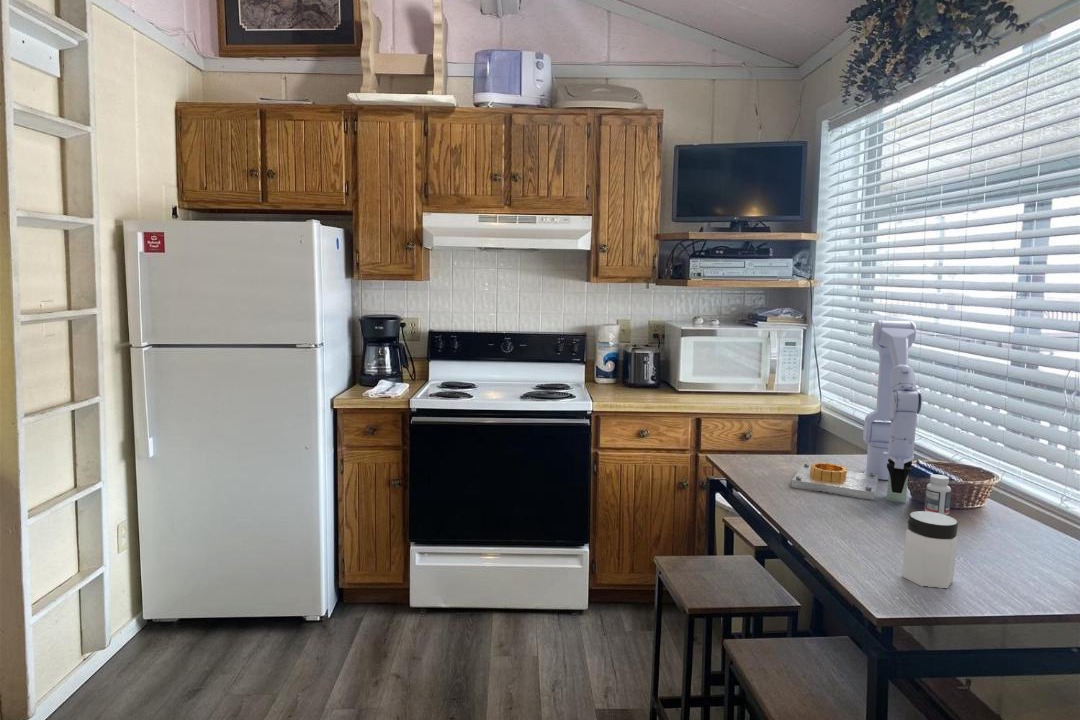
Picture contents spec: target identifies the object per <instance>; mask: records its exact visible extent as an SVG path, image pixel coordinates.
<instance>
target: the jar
mask: <svg viewBox="0 0 1080 720" xmlns="http://www.w3.org/2000/svg"><path fill="white" fill-rule="evenodd" d="M958 526H959V522H958V520H957V519H955V518H954V517H952V516H950V515H944V514H940V513H935V512H928V511H925V510H918V511H912V512H910V513H909V515H908V518H907V529H906V530H905V538H904V549H903V550H904V551H903V560H902V571H901V577H902V578H904V579H906V580H908V581H910V582H912V583H914V584H916V585H918V586H919V587H923V586H928V587H927V588H933V587H938V588H937V589H943V588H947V589H948V588H949V587H950V586H951V584H952V583H953V581H954V575H955V566H956V564H955V563H956V555H957V547H958V538H959V537H958V536H959V535H958ZM949 585H950V586H949Z"/></svg>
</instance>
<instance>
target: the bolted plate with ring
mask: <svg viewBox="0 0 1080 720" xmlns="http://www.w3.org/2000/svg"><path fill="white" fill-rule="evenodd" d="M878 477H879V475H875V473H870V474H866V473H864V472H859V471H858V472H857V471H852V470H848V468H847V467H845V466H843V465H840V464H835V463H829V462H815V463H811V465H810V464H809V463H804V464H801V465H800V467H799V469H798V470H797V471H796V473H795V475H793V477H792V479H791V488H793V487H794V488H795V489H800V490H801V489H802V490H806V489H807V491H813V490H814V491H813V492H819V491H822V492H821V493H825V492H829V493H828V494H832V493H834V494H833V495H838V494H839V495H838V496H846V497H852V498H857V497H858V498H859V499H866V500H871V501H875V497H876V492H877V488H878V484H879V479H878ZM794 488H793V489H794Z"/></svg>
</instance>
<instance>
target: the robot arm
mask: <svg viewBox="0 0 1080 720" xmlns="http://www.w3.org/2000/svg"><path fill="white" fill-rule="evenodd" d="M872 329H873V330H872V331H873V332H872V348H873V349H874V350H875V351H877V352H878V356H879V364H878V377H877V378H878V381H877V395H876V408H875V410H873V411H871V412H870V413H868V414H867V415H866V416H865V417H864V424H863V428H862V438H863V441H864V442H865V443H866V444H867V453H866V467H865V469H864V472H863V473H866V474H870V473H875V475H879V477H878V480H883V481H888V477H889V474H890V478H891V488H892V492H894V493H902V490H903V487H904V484H905V480H906V478H907V476H908V477H909V474H910V473H911V471H912V469H913V468H912V465H913V460H914V459H915V456H914V451H915V441H916V440H915V439H916V429H917V422H918V420H917V419H918V415H919V414H920V413H921V411H922V410H921V409H922V404H923V403H922V402H923V401H922V399H923V397H922V393H921V391H920V389H919V387H917V385H916V384H917V381H916V376H915V370H914V369H913V368H912V367H911V366H909V365H910V364H909V349H910V348H911V347H912V346H913V343H914V342H915V341H916V335H917V326H916V323H914V321H912V320H911V321H900V320H899V321H898V320H896V321H895V320H881V319H877V320H876V321H874V324H873V328H872Z"/></svg>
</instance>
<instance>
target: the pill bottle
mask: <svg viewBox="0 0 1080 720" xmlns="http://www.w3.org/2000/svg"><path fill="white" fill-rule="evenodd" d="M929 477H930V478H929V481H930V482H929V483H927V485H926V489H925V502H924V511H928V512H935V513H940V514H944V515H947V516H949V514H950V507H951V495H952V488H951V487H950V486H949V485H948V484H949V482H950V477H949V476H947V475H943V474H935V473H934V474H931V475H930V476H929Z"/></svg>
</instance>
